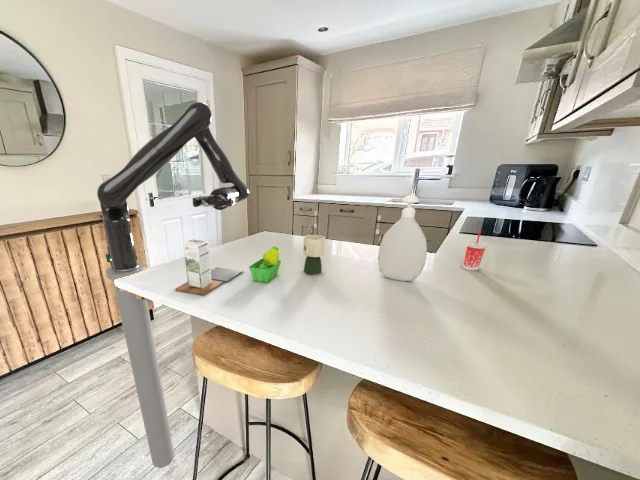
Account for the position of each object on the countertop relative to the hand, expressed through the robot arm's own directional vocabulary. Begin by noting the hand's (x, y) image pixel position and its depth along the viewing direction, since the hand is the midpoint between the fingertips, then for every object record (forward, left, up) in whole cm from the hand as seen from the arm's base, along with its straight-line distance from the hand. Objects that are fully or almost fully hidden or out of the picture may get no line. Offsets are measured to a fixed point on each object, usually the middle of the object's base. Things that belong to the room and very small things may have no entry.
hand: (206, 203), depth 101 cm
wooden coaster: (+2, -11, -25) cm, 27 cm away
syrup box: (+2, -11, -25) cm, 27 cm away
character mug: (+32, +16, -25) cm, 44 cm away
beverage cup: (+83, +42, -25) cm, 97 cm away
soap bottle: (+60, +22, -25) cm, 69 cm away
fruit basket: (+19, +5, -25) cm, 32 cm away
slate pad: (+3, +1, -25) cm, 25 cm away
